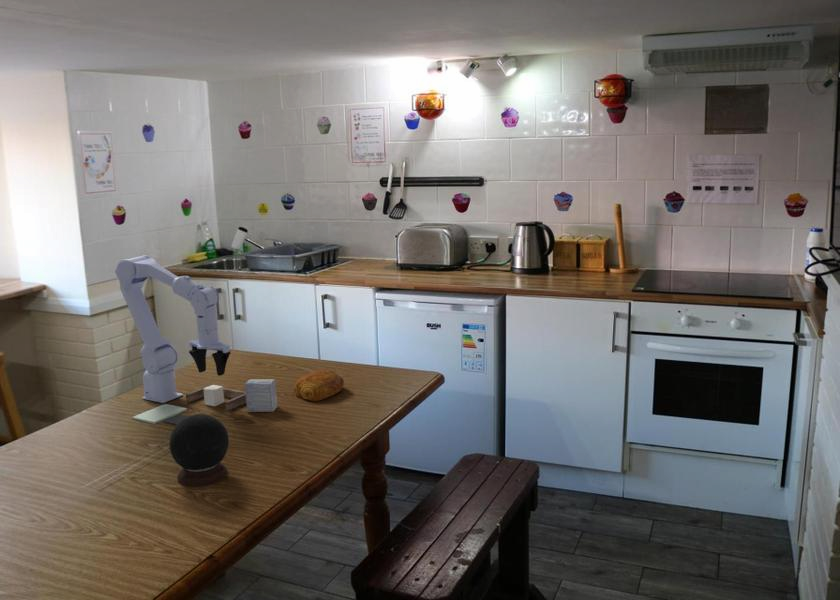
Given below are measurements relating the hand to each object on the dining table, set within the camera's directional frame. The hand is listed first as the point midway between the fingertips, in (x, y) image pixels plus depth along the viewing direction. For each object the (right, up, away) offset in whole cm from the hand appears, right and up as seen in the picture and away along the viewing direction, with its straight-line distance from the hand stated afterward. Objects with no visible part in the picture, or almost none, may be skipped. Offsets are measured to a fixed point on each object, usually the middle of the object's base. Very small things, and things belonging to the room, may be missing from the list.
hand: (211, 373), depth 224 cm
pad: (-13, -11, -6) cm, 18 cm away
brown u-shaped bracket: (+1, -9, +3) cm, 10 cm away
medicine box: (+16, -10, -5) cm, 20 cm away
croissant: (+31, -7, +8) cm, 33 cm away
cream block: (0, -9, +2) cm, 10 cm away
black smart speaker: (+11, -20, -48) cm, 53 cm away
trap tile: (-6, -12, -11) cm, 18 cm away
